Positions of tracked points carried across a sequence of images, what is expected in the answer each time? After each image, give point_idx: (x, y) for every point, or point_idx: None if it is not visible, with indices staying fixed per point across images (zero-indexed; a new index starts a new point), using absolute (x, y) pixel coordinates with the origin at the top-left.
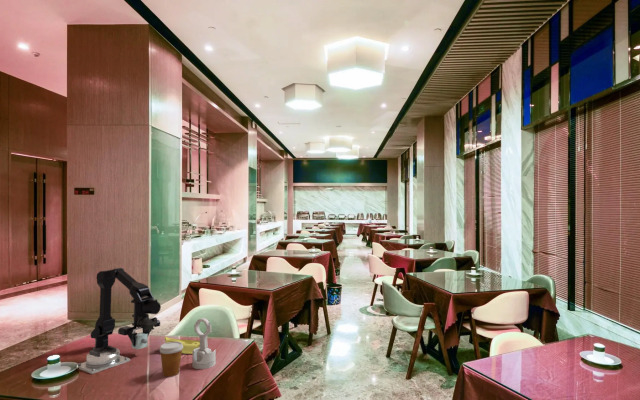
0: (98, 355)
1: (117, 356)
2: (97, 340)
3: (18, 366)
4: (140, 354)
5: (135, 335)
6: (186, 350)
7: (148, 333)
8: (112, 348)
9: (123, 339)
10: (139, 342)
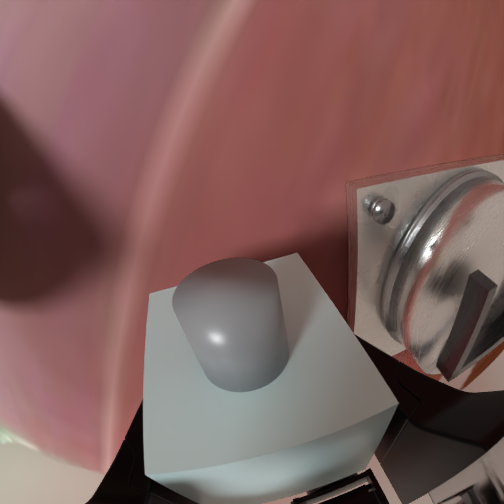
0: None
1: (464, 214)
2: None
3: (482, 371)
4: None
5: (440, 423)
6: None
7: (122, 481)
8: (485, 310)
9: None
10: (309, 322)
